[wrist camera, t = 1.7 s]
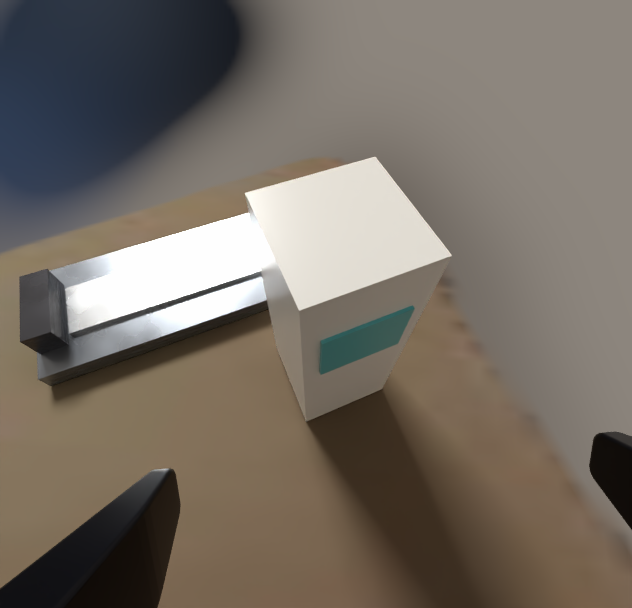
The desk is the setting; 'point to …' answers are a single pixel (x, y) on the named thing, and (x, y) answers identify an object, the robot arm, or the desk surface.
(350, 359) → the block
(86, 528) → the robot arm
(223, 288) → the mounting plate
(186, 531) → the desk surface
